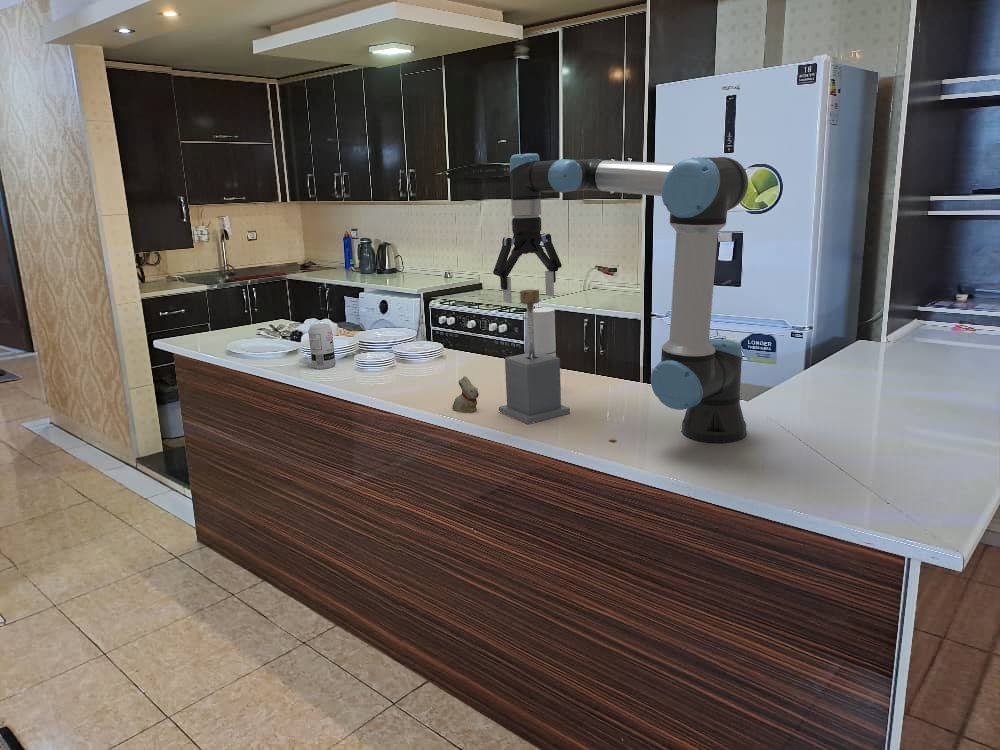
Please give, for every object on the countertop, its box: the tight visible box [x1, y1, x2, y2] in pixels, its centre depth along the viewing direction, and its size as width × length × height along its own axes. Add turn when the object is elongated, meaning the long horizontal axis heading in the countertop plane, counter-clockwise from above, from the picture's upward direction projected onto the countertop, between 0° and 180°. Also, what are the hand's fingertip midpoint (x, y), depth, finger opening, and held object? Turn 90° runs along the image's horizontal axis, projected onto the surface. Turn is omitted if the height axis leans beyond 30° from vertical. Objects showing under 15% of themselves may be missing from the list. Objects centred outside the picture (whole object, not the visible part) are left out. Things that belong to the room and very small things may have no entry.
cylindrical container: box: [533, 307, 557, 357], centre depth 217 cm, size 7×7×25 cm
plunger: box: [519, 289, 540, 360], centre depth 196 cm, size 8×8×20 cm
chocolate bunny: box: [452, 375, 480, 413], centre depth 206 cm, size 6×8×10 cm
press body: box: [498, 351, 571, 425], centre depth 200 cm, size 14×14×16 cm
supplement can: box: [307, 323, 336, 370], centre depth 263 cm, size 8×8×15 cm
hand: (529, 298), depth 194 cm, fingers open, 13 cm apart
